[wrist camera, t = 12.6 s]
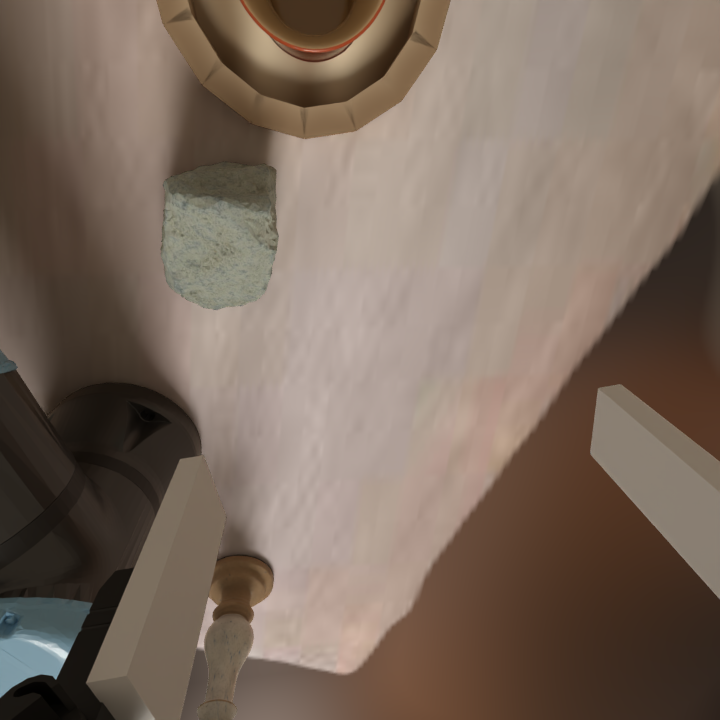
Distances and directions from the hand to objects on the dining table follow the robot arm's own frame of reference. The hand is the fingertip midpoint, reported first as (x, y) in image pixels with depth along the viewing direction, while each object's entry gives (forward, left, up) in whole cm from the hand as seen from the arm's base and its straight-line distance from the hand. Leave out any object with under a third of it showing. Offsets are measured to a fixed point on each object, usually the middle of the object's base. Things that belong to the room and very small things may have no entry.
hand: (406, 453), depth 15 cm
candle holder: (-20, -39, -29) cm, 52 cm away
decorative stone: (-10, +4, -29) cm, 31 cm away
